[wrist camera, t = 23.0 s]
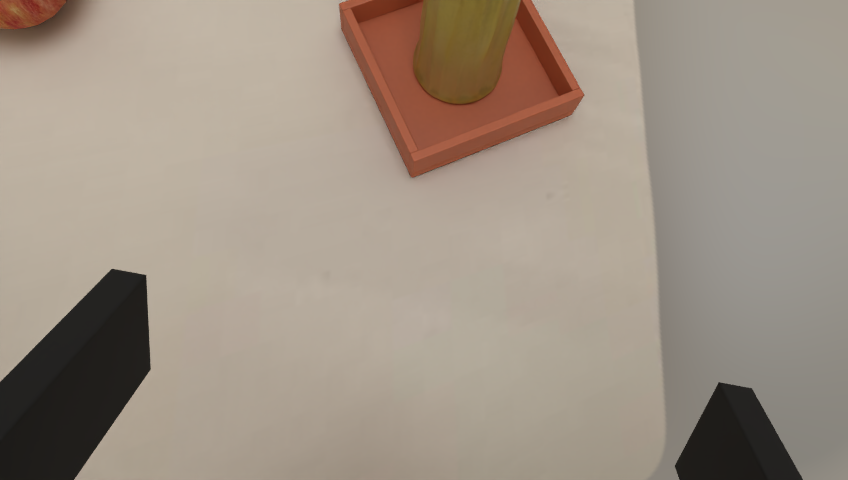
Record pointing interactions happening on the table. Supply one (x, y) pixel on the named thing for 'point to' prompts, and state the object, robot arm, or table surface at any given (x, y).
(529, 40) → the terracotta tray
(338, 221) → the table surface
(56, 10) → the fruit
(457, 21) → the vase
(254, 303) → the table surface
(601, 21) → the table surface
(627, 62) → the table surface
